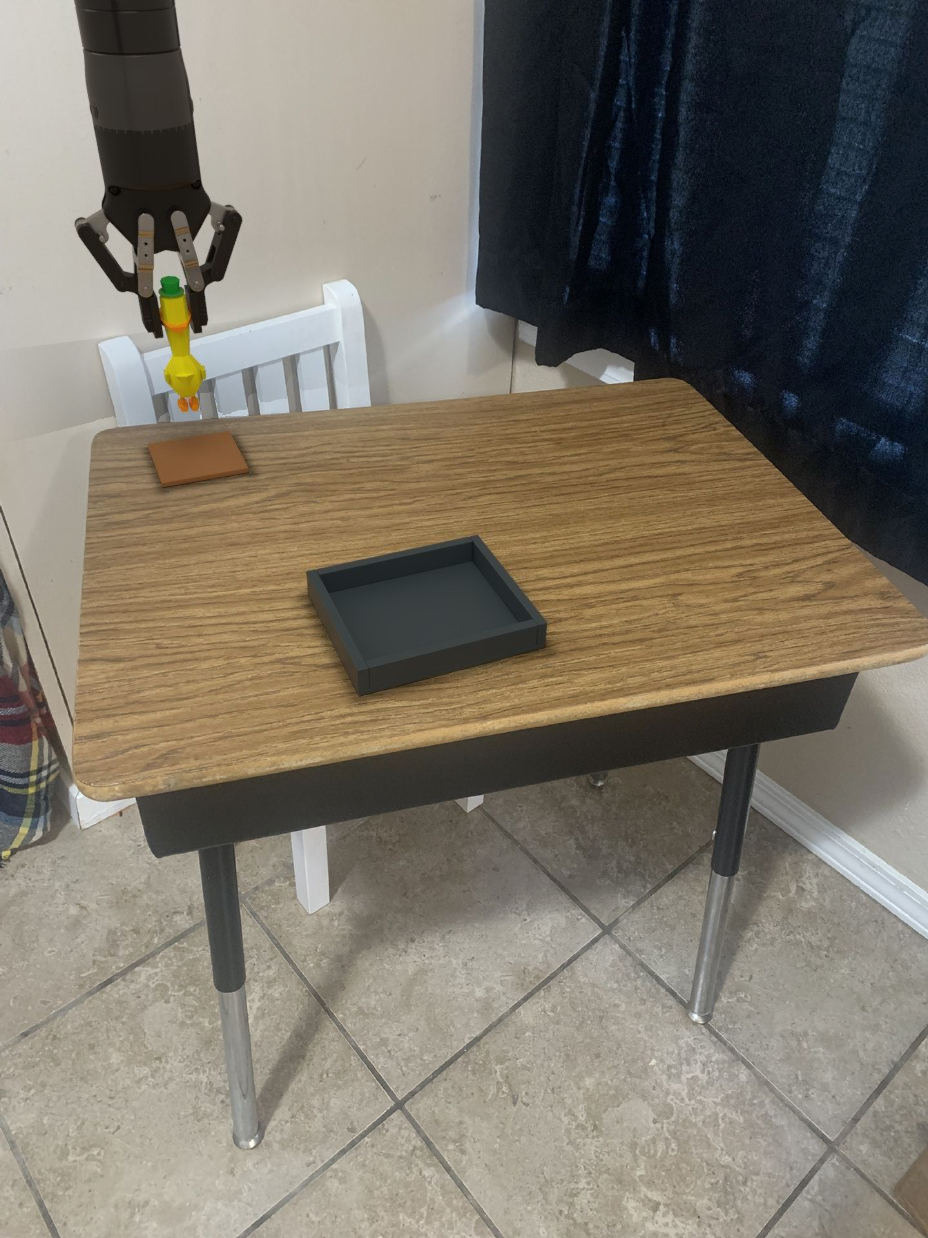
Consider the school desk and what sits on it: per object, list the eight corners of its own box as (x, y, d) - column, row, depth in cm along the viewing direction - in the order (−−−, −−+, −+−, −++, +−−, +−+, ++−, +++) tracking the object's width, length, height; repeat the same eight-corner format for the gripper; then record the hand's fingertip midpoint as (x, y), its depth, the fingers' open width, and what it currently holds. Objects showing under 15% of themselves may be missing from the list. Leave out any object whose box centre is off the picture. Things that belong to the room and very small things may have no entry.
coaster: (162, 487, 89) (161, 482, 89) (148, 448, 95) (147, 443, 95) (249, 472, 92) (248, 467, 92) (230, 434, 98) (229, 430, 98)
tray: (359, 696, 68) (357, 670, 67) (307, 595, 77) (305, 570, 76) (545, 647, 73) (547, 622, 71) (476, 558, 82) (477, 533, 80)
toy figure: (165, 393, 92) (143, 264, 85) (203, 388, 93) (185, 260, 86) (173, 424, 87) (151, 290, 80) (214, 419, 88) (195, 286, 81)
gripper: (223, 101, 80) (246, 308, 91) (42, 109, 76) (88, 327, 86) (244, 120, 75) (266, 338, 85) (51, 130, 70) (99, 360, 81)
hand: (176, 331), depth 86 cm, fingers closed on toy figure, 2 cm apart
